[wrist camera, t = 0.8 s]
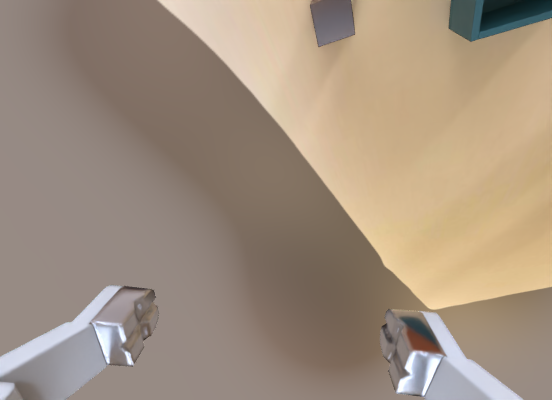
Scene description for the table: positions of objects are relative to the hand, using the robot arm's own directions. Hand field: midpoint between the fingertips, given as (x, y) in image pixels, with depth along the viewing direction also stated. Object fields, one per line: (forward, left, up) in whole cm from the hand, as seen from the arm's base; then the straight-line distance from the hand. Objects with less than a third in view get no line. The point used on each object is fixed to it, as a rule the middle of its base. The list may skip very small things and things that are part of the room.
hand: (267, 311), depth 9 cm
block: (-2, +3, -43) cm, 43 cm away
